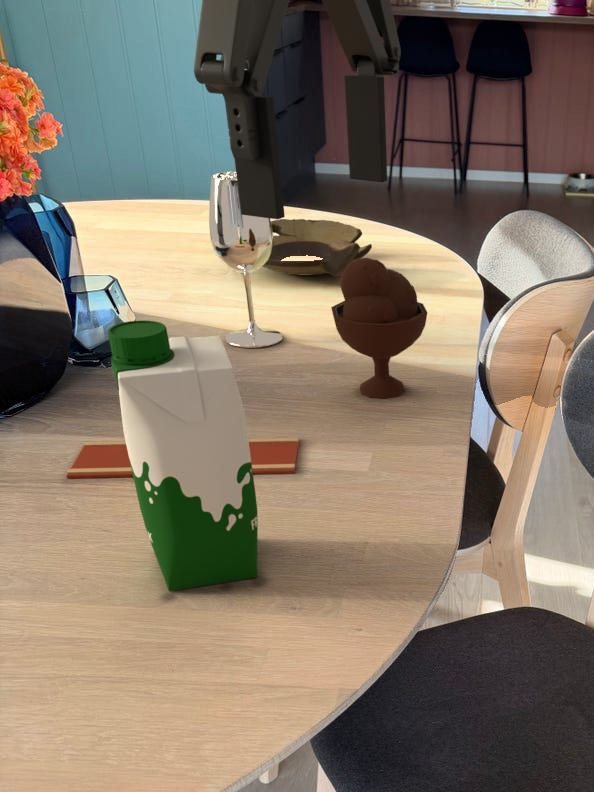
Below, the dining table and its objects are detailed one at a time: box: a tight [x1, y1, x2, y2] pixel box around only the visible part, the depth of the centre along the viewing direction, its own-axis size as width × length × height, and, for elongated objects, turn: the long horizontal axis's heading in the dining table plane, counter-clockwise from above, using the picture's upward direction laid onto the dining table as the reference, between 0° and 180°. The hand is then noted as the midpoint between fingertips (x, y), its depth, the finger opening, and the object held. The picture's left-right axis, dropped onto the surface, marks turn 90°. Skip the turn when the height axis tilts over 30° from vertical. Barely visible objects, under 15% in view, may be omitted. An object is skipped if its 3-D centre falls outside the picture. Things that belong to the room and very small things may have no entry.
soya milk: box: [107, 320, 259, 592], centre depth 73 cm, size 9×9×20 cm
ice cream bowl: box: [330, 257, 428, 399], centre depth 107 cm, size 11×11×15 cm
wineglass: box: [208, 171, 284, 349], centre depth 119 cm, size 8×8×20 cm
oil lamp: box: [262, 218, 373, 277], centre depth 150 cm, size 22×30×8 cm
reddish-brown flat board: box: [66, 437, 300, 479], centre depth 95 cm, size 22×8×1 cm, turn 95°
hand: (320, 197), depth 63 cm, fingers open, 13 cm apart
